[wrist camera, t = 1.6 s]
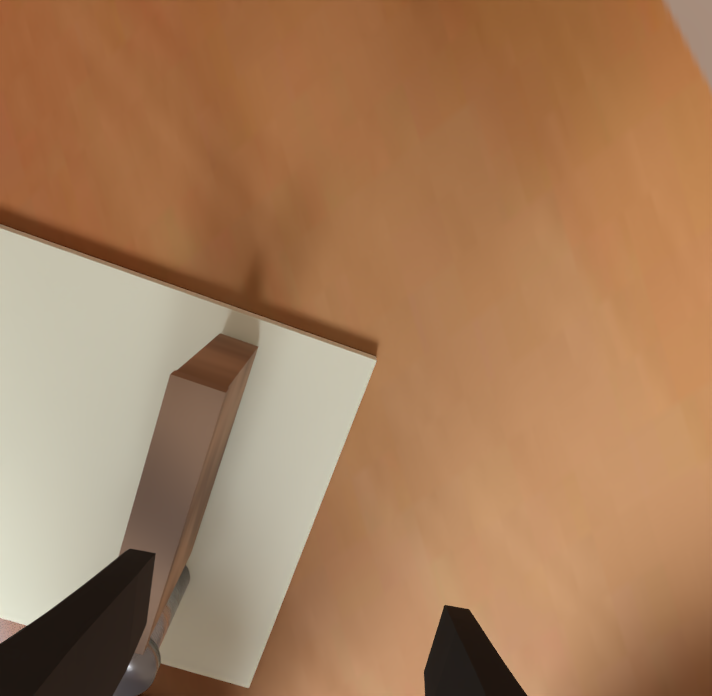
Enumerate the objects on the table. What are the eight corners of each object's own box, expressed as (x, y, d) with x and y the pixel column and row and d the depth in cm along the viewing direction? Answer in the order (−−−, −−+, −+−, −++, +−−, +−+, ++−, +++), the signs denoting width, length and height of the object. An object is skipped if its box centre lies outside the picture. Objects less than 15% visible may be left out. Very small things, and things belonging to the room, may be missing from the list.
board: (251, 677, 25) (248, 688, 25) (-177, 555, 24) (-191, 564, 23) (376, 356, 21) (376, 360, 20) (-135, 176, 19) (-151, 175, 19)
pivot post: (191, 598, 24) (145, 706, 19) (134, 581, 24) (71, 685, 19) (207, 551, 23) (164, 649, 18) (149, 533, 23) (88, 627, 18)
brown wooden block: (192, 553, 22) (142, 655, 17) (155, 541, 22) (94, 641, 17) (259, 346, 20) (225, 392, 15) (218, 332, 20) (170, 373, 15)
